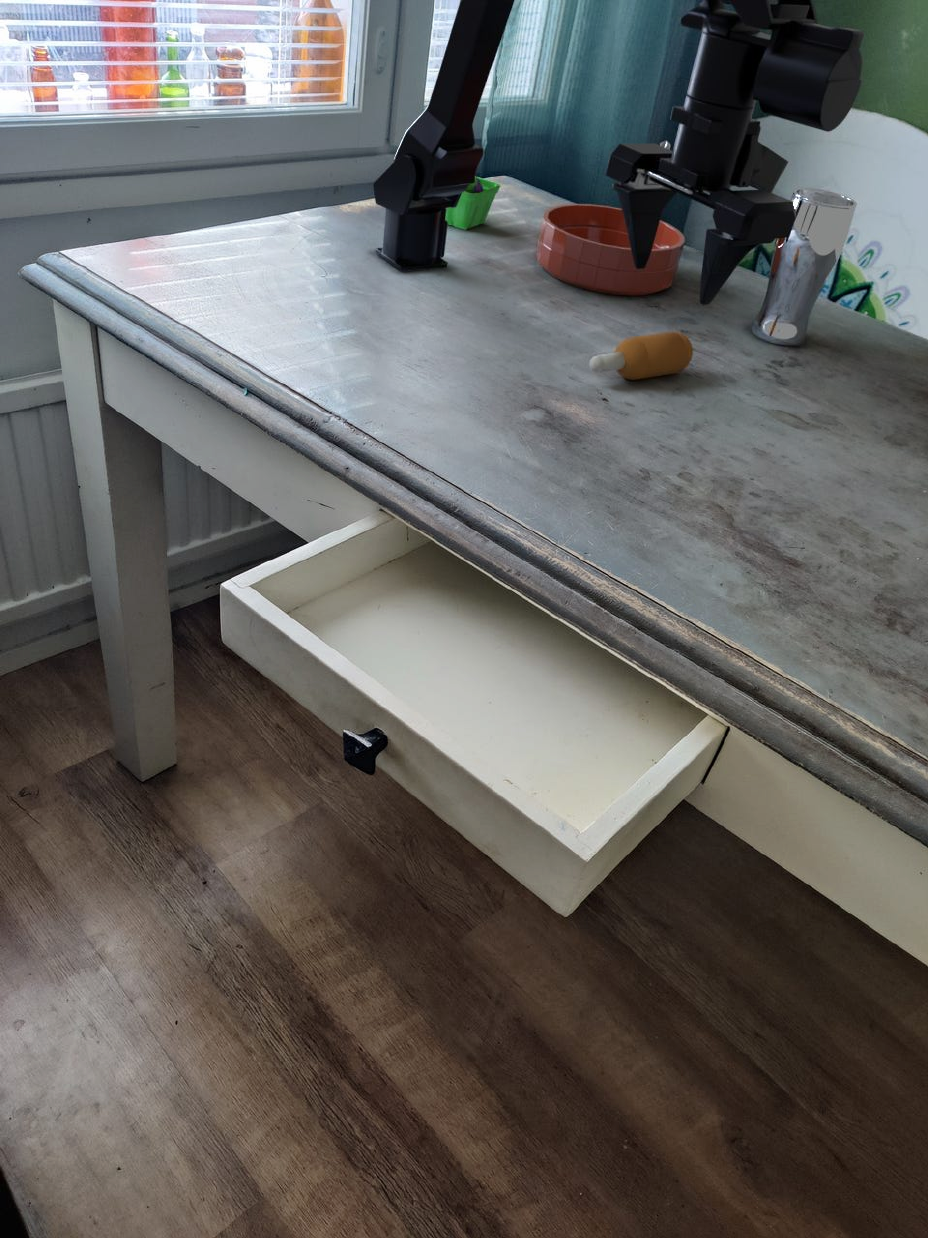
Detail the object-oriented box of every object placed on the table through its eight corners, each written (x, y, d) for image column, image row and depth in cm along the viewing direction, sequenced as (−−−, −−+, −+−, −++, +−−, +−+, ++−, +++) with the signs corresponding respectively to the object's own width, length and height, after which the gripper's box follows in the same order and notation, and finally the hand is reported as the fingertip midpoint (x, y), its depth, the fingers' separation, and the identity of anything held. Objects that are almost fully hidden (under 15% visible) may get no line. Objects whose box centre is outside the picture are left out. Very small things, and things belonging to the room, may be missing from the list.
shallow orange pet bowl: (628, 308, 109) (640, 260, 105) (508, 262, 116) (515, 215, 113) (696, 280, 120) (708, 235, 117) (582, 239, 127) (591, 196, 124)
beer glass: (809, 332, 110) (859, 196, 101) (806, 353, 105) (858, 211, 96) (749, 318, 111) (793, 182, 102) (744, 337, 106) (789, 196, 97)
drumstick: (668, 361, 98) (678, 323, 96) (694, 377, 96) (706, 339, 93) (574, 375, 92) (583, 335, 90) (599, 393, 90) (609, 353, 87)
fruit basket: (497, 223, 128) (511, 132, 121) (463, 236, 122) (475, 140, 115) (427, 201, 132) (436, 111, 125) (390, 212, 126) (397, 118, 119)
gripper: (869, 130, 78) (802, 316, 87) (713, 77, 89) (669, 246, 99) (776, 129, 72) (715, 328, 82) (622, 73, 84) (585, 253, 94)
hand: (671, 285), depth 89 cm, fingers open, 9 cm apart
